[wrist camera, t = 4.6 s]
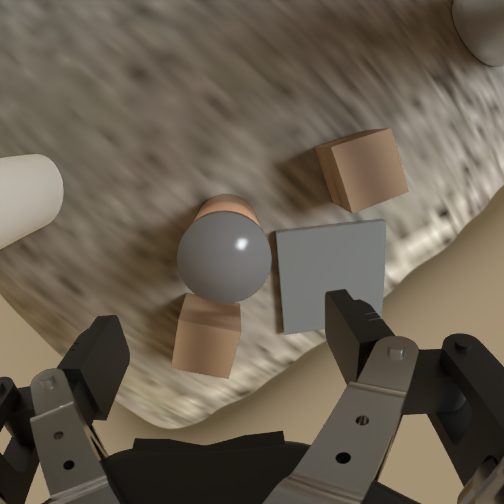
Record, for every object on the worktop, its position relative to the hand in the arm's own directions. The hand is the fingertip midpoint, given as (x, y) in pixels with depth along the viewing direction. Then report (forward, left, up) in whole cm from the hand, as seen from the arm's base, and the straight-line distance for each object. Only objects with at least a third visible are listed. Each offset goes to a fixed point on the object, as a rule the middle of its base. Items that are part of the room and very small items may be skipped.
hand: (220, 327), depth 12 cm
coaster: (-9, +6, -16) cm, 19 cm away
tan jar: (0, 0, -16) cm, 16 cm away
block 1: (+3, +9, -16) cm, 19 cm away
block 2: (-11, -4, -16) cm, 20 cm away
